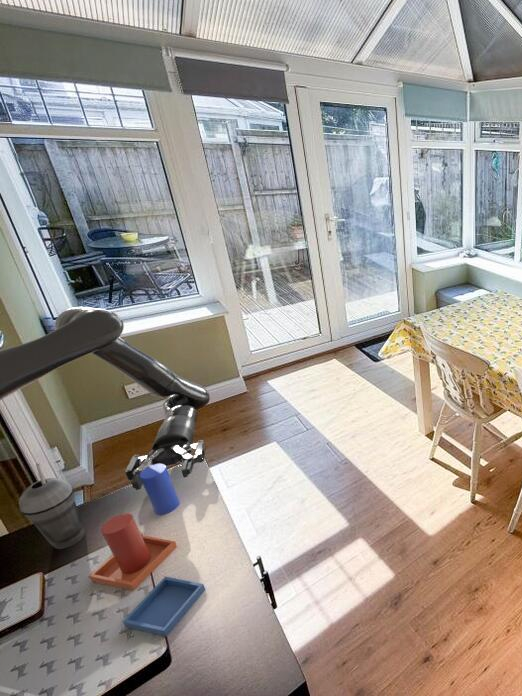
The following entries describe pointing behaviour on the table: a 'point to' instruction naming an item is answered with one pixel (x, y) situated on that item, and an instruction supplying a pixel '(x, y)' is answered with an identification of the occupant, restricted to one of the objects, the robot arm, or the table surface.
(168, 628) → the blue tray
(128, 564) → the red canister
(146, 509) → the table surface
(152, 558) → the terracotta tray
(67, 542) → the beverage cup
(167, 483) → the blue canister
